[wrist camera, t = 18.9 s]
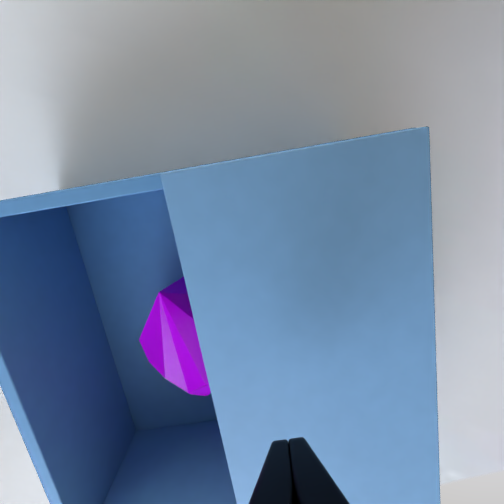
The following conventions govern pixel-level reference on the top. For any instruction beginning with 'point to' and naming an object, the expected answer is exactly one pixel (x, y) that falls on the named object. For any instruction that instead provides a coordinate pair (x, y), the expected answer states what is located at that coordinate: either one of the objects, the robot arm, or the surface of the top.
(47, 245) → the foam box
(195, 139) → the top surface
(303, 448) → the robot arm
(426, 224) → the flap
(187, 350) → the crystal
